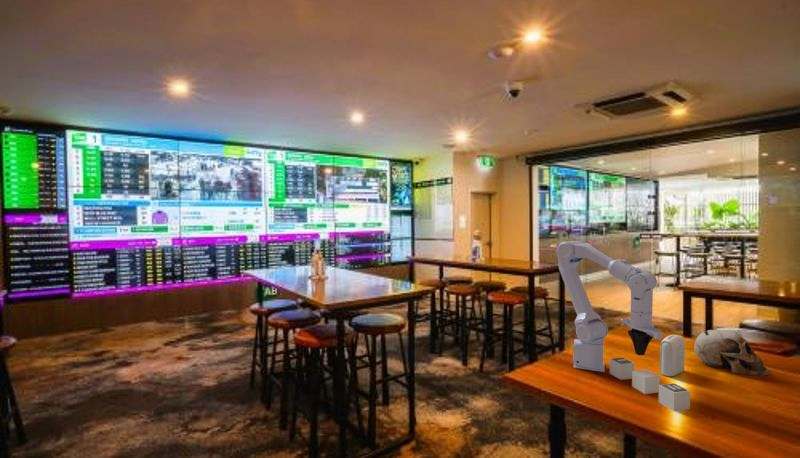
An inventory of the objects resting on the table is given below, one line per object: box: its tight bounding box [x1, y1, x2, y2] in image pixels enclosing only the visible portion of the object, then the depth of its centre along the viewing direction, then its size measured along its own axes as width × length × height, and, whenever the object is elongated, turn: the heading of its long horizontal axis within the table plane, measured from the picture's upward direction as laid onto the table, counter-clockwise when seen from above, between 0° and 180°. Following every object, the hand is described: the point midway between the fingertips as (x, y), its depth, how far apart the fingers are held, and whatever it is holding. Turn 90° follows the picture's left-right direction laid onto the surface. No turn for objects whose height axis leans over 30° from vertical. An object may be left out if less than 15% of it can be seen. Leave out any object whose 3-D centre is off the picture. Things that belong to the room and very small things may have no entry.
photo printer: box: [659, 334, 686, 377], centre depth 132 cm, size 10×4×12 cm, turn 123°
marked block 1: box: [609, 357, 635, 380], centre depth 130 cm, size 5×5×5 cm
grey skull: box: [694, 329, 771, 377], centre depth 136 cm, size 16×17×13 cm
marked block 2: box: [658, 383, 691, 412], centre depth 110 cm, size 5×5×5 cm
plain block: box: [631, 369, 661, 395], centre depth 120 cm, size 5×5×5 cm
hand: (640, 354), depth 123 cm, fingers closed
